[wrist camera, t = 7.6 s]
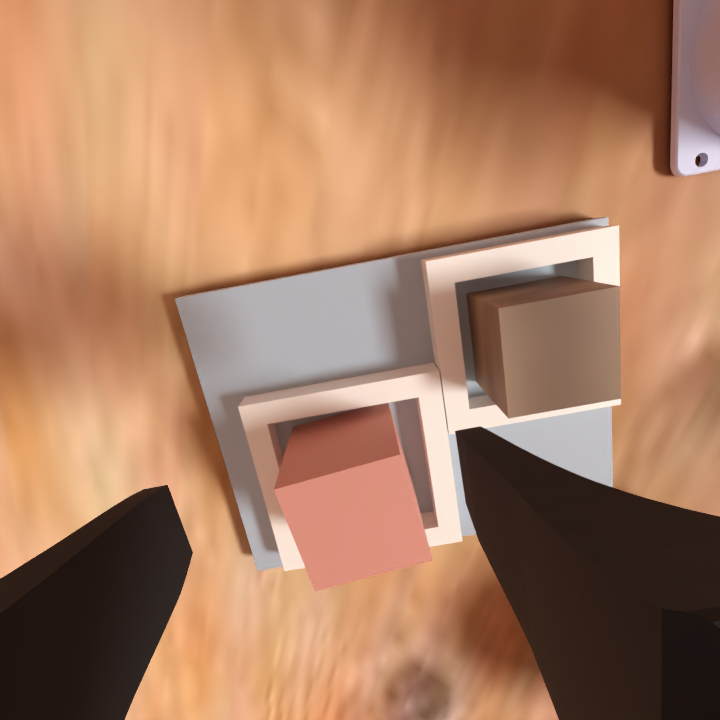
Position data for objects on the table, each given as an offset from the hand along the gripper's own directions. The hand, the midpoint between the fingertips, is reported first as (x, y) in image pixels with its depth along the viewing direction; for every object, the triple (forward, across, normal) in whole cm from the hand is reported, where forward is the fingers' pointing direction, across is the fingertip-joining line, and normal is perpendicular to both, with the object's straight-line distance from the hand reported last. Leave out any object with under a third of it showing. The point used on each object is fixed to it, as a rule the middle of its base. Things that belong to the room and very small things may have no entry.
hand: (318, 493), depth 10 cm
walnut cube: (+9, -8, -1) cm, 12 cm away
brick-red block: (+9, 0, +4) cm, 10 cm away
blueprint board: (+10, -3, +2) cm, 10 cm away
